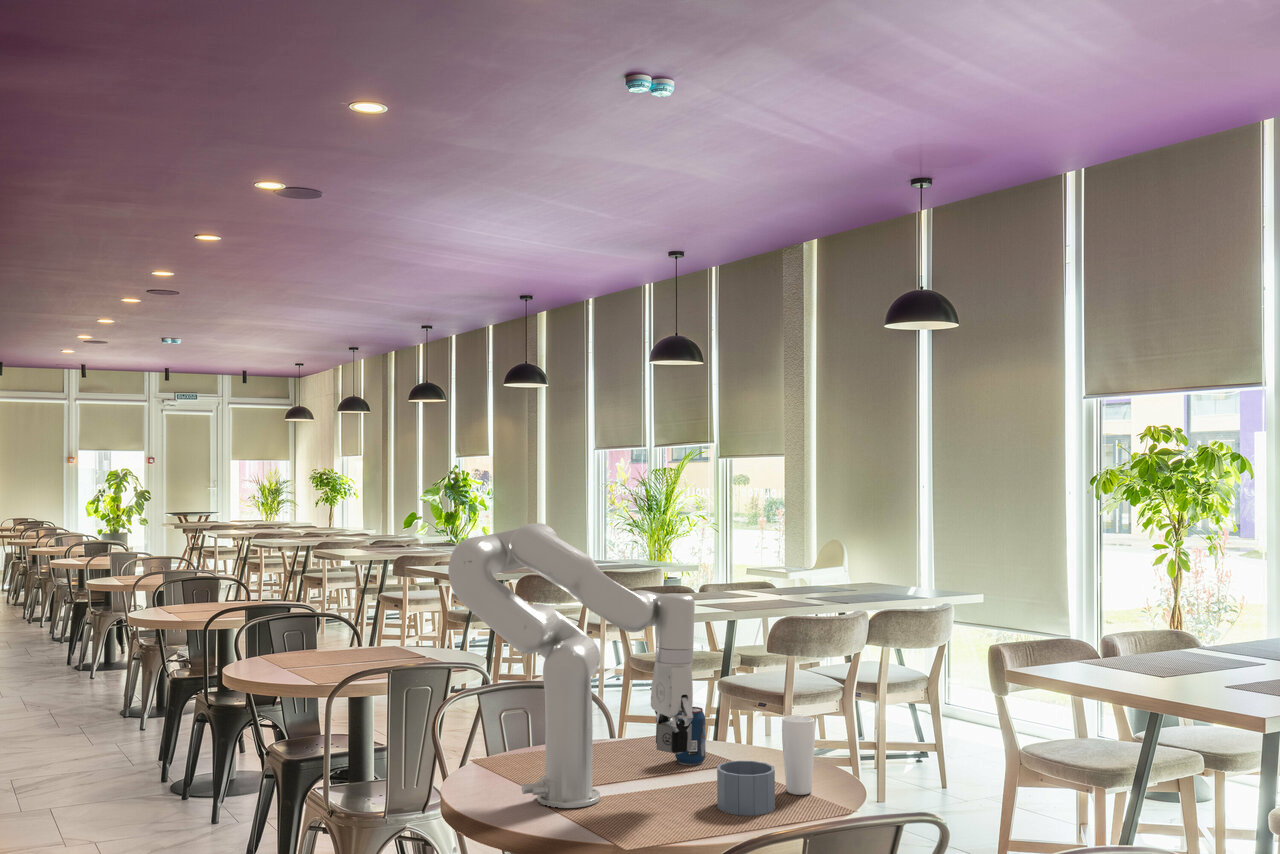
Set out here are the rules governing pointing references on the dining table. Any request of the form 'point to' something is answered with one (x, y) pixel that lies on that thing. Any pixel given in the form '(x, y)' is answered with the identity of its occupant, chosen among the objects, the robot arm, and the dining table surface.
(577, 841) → the dining table surface
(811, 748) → the drinking glass
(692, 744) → the soda can
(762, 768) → the cup
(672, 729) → the dice cube
